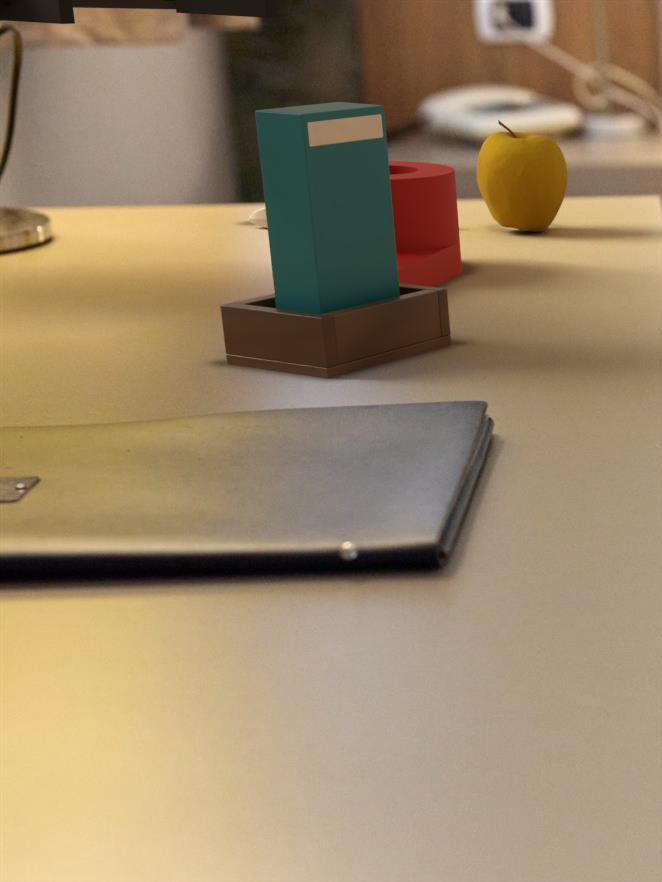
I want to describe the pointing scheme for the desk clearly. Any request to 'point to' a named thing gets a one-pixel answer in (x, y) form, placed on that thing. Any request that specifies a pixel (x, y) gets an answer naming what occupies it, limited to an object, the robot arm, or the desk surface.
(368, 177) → the box
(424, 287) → the box
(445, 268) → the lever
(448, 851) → the desk surface
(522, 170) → the apple
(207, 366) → the desk surface
